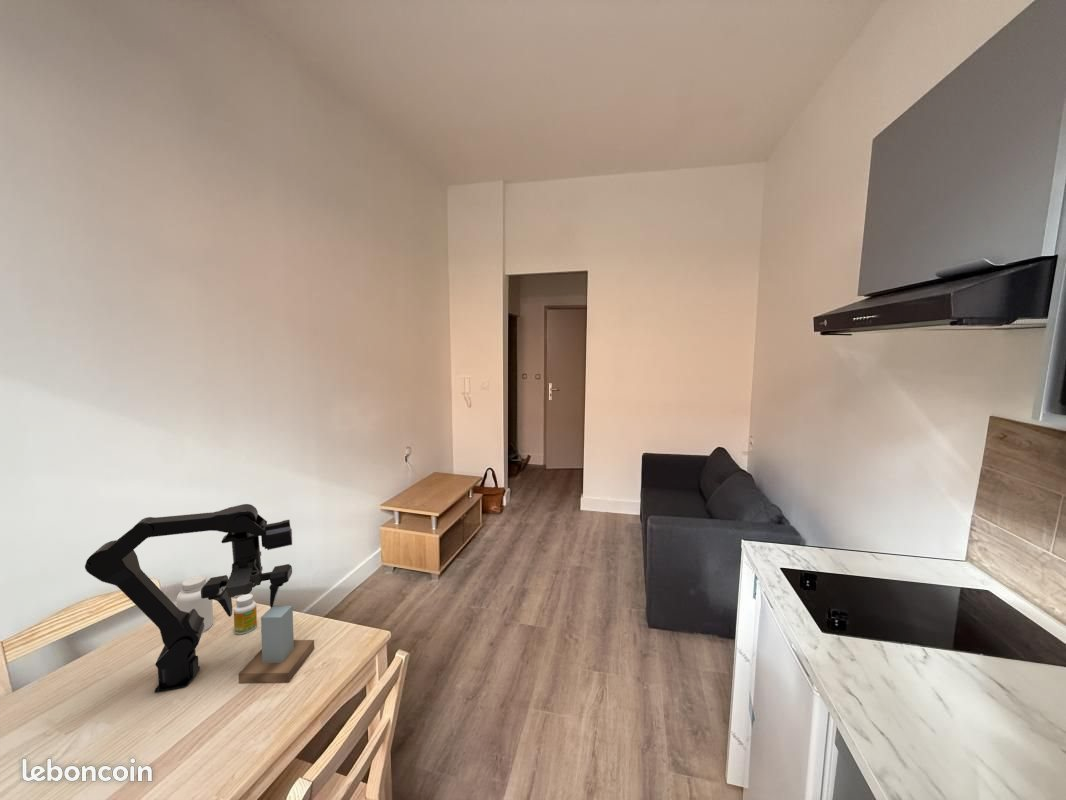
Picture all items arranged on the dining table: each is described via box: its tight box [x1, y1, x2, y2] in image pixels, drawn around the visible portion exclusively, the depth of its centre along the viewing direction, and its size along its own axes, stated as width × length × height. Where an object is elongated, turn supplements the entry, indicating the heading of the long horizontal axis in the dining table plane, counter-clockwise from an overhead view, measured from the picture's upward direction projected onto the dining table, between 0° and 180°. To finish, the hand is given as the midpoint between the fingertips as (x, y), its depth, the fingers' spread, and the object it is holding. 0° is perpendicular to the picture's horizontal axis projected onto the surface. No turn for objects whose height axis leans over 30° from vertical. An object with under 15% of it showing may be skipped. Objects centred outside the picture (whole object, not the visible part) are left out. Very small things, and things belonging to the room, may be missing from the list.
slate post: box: [260, 605, 294, 663], centre depth 101 cm, size 5×5×12 cm
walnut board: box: [238, 639, 315, 684], centre depth 102 cm, size 12×12×2 cm
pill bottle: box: [176, 575, 214, 633], centre depth 115 cm, size 8×8×15 cm
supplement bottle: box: [233, 593, 258, 635], centre depth 116 cm, size 5×5×10 cm
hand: (251, 611), depth 103 cm, fingers open, 9 cm apart
